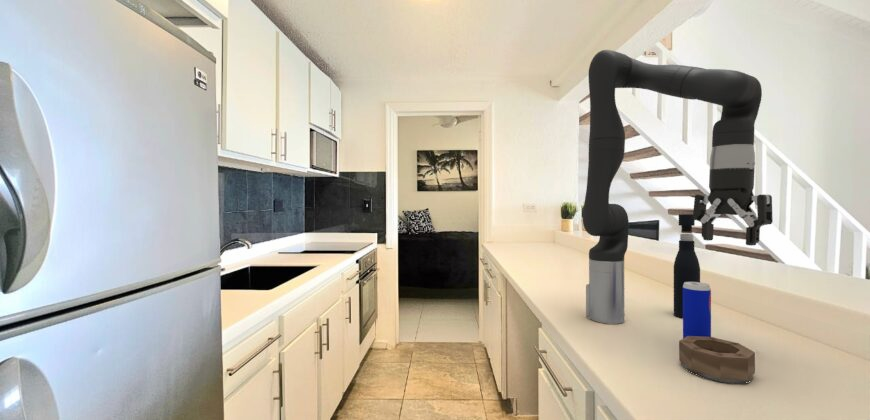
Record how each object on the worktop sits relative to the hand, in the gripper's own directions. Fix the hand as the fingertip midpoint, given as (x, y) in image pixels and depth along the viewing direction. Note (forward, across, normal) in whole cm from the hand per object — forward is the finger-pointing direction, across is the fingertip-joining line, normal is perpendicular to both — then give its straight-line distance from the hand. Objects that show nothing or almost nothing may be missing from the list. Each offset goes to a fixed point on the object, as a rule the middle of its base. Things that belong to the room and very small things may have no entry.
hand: (728, 242), depth 79 cm
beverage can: (+25, -4, -4) cm, 25 cm away
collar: (+24, +5, -10) cm, 27 cm away
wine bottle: (+25, -22, +19) cm, 39 cm away
